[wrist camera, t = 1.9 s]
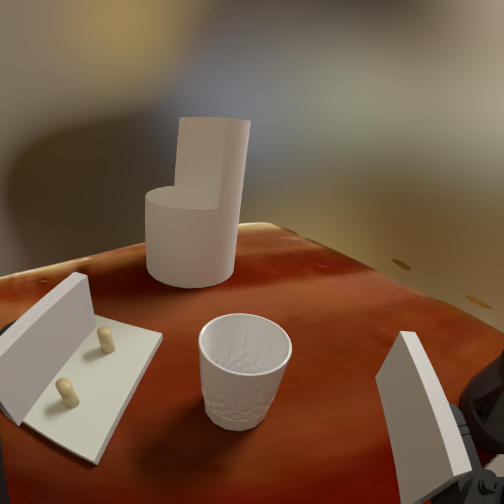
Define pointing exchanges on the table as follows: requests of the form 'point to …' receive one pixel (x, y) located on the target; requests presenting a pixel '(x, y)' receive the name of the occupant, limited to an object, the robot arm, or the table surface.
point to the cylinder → (198, 205)
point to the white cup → (241, 368)
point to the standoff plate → (94, 388)
